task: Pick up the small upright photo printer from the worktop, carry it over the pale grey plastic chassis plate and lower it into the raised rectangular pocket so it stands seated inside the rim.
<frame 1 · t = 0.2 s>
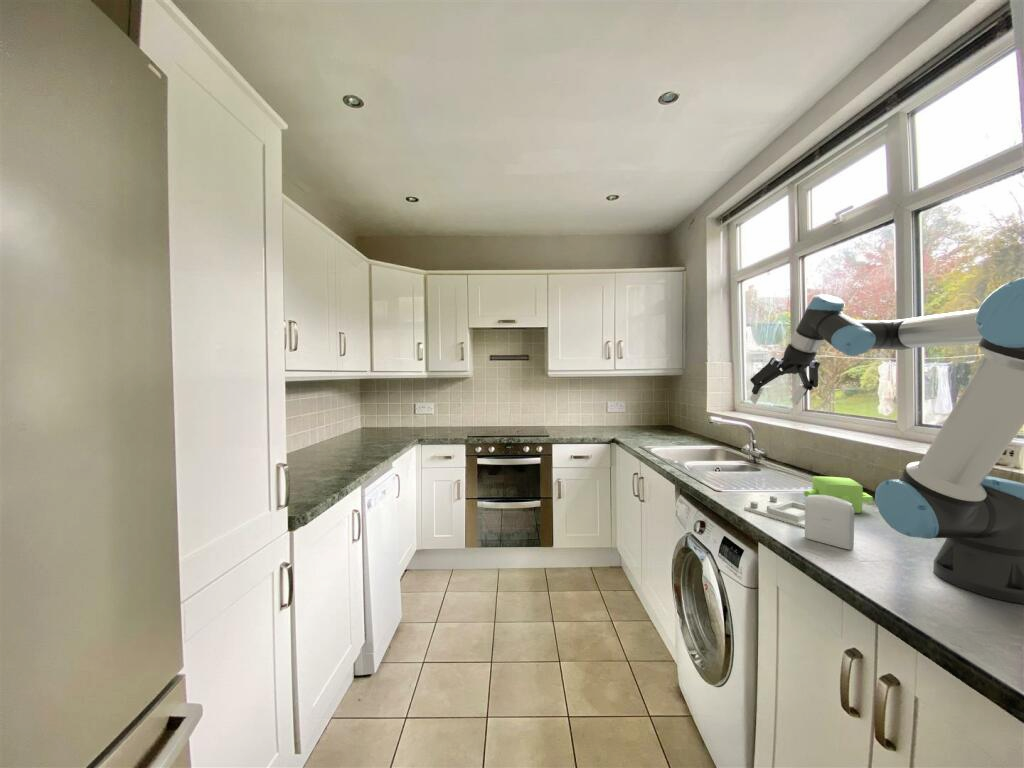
hand: (773, 401, 129), 35 cm above the worktop, tool tilted 35°, fingers open, 13 cm apart
gearbox: (834, 509, 130), on the worktop
chassis: (794, 516, 122), on the worktop
photo printer: (827, 543, 103), on the worktop
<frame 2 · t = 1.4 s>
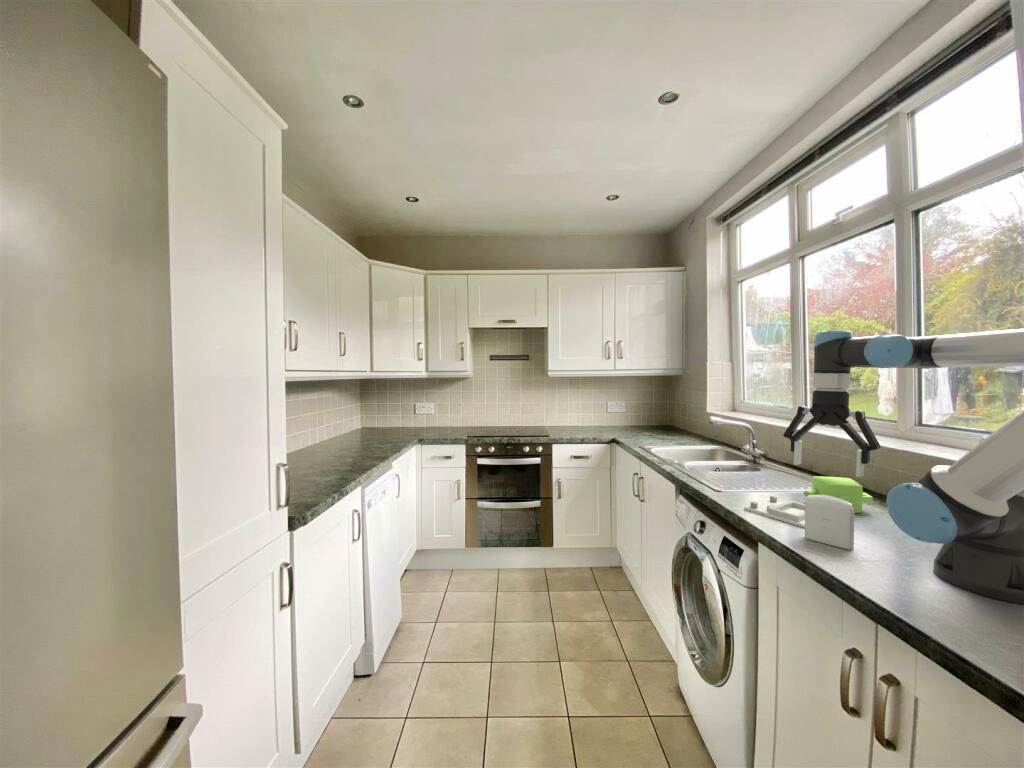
hand: (826, 469, 104), 19 cm above the worktop, tool pointing down, fingers open, 13 cm apart
nothing on the worktop moved.
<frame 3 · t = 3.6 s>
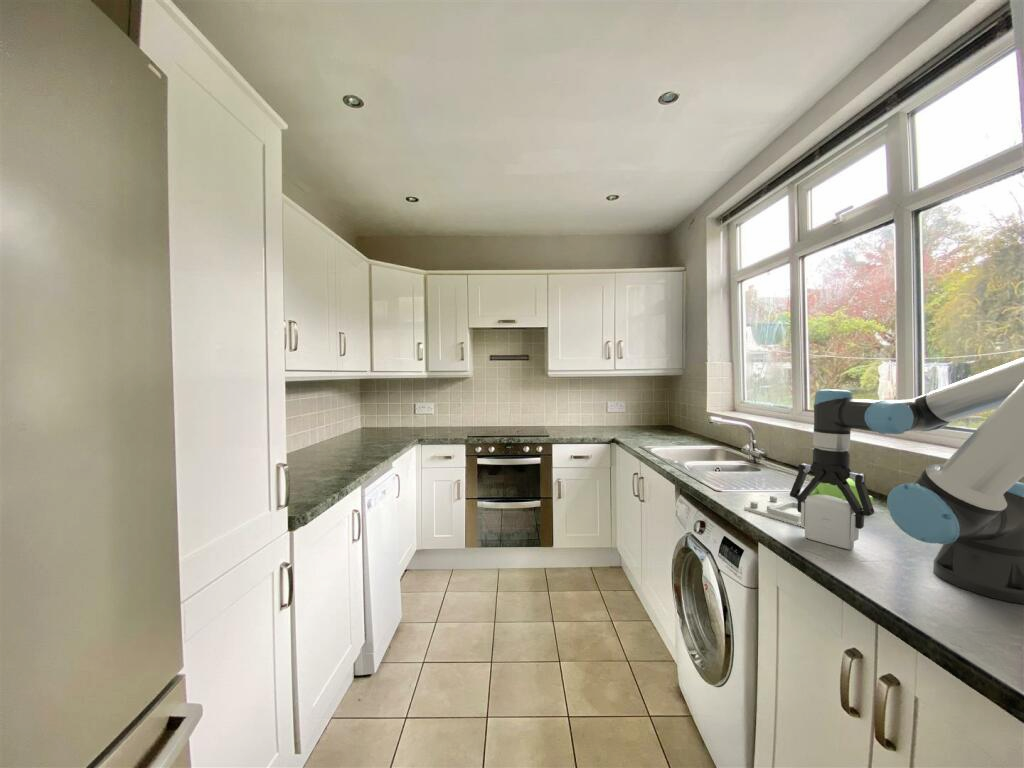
hand: (828, 532, 103), 3 cm above the worktop, tool pointing down, fingers closed on photo printer, 10 cm apart
photo printer: (827, 543, 103), on the worktop, touching gripper
everything else where it was.
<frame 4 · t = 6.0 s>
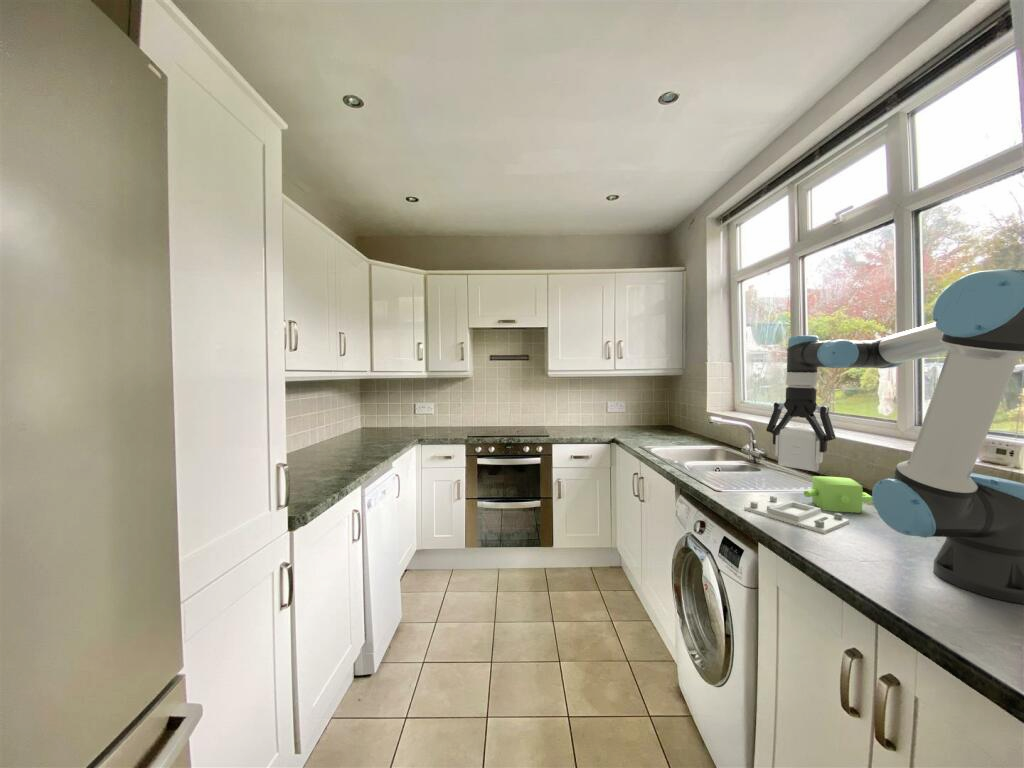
hand: (797, 458, 120), 18 cm above the worktop, tool pointing down, fingers closed on photo printer, 10 cm apart
photo printer: (797, 468, 120), point 15 cm above the worktop, touching gripper
everything else where it was.
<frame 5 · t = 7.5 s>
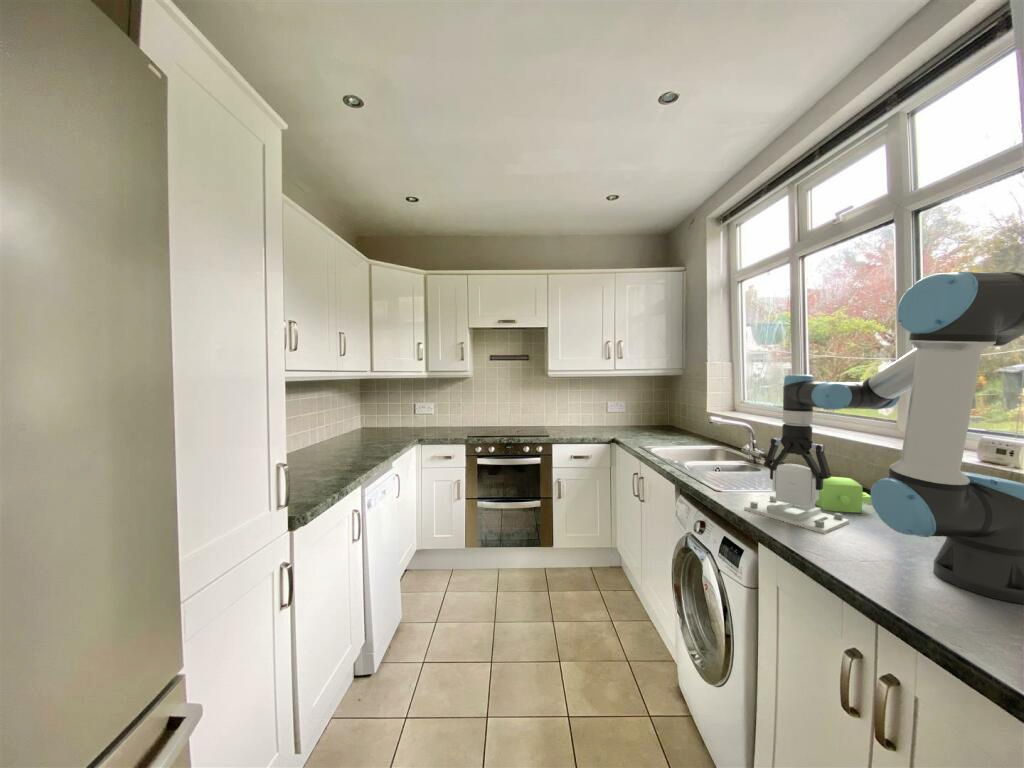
hand: (794, 494, 122), 7 cm above the worktop, tool pointing down, fingers closed on photo printer, 10 cm apart
photo printer: (794, 504, 122), point 4 cm above the worktop, touching gripper
everything else where it was.
when the fingers open (5 cm above the worktop, at t = 8.3 s): photo printer stays where it is, resting on chassis.
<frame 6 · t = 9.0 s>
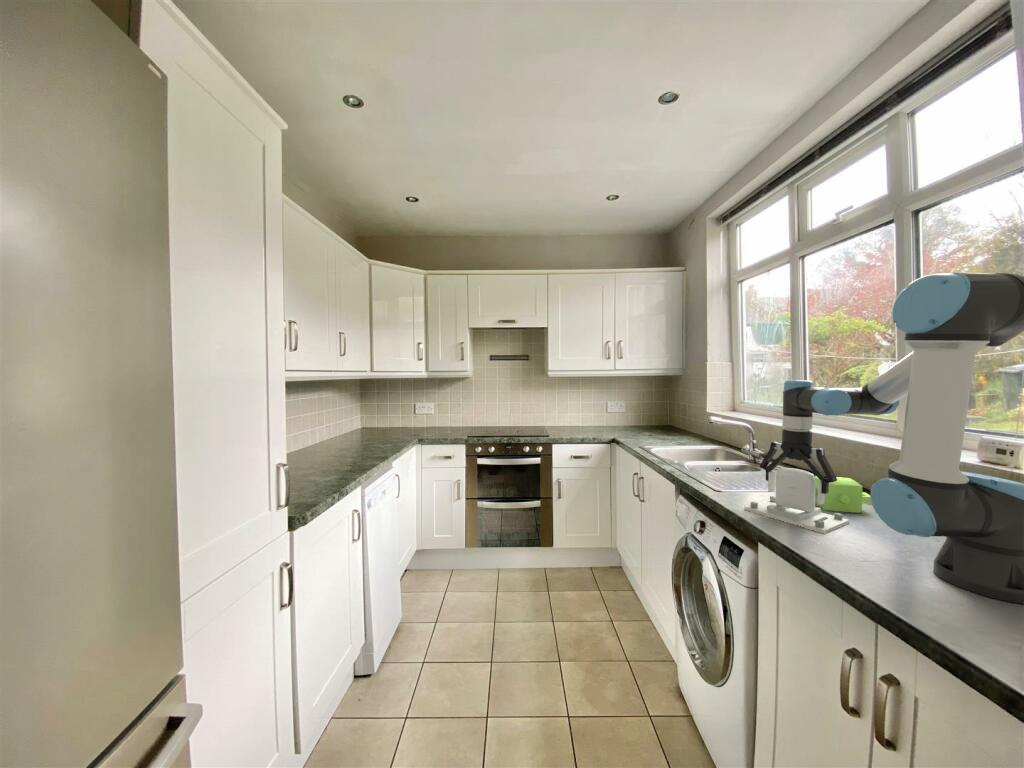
hand: (794, 497, 122), 6 cm above the worktop, tool pointing down, fingers open, 13 cm apart
photo printer: (794, 508, 122), point 2 cm above the worktop, touching chassis
everything else where it was.
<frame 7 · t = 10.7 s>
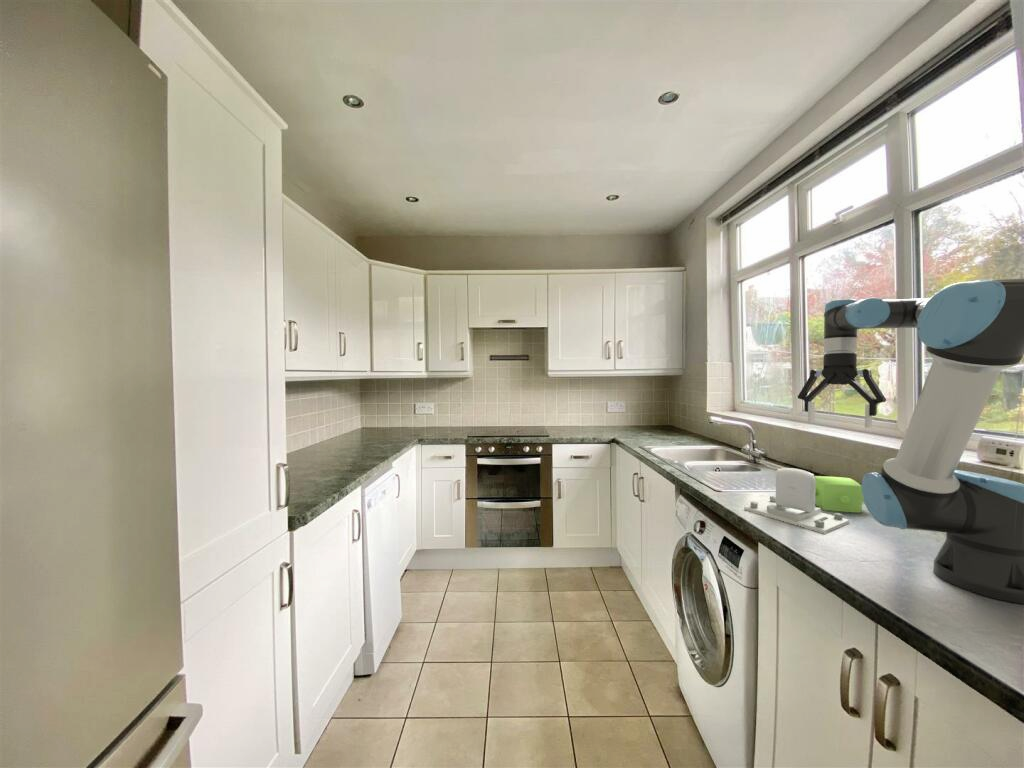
hand: (838, 425, 116), 29 cm above the worktop, tool pointing down, fingers open, 13 cm apart
nothing on the worktop moved.
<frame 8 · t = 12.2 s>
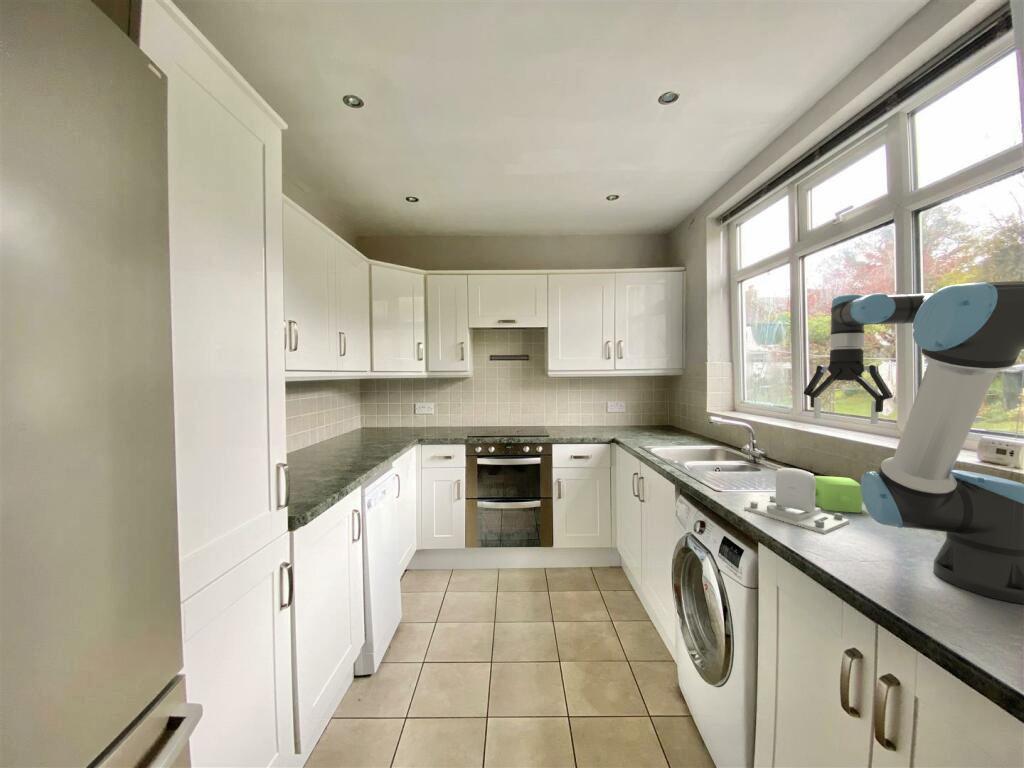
hand: (844, 421, 115), 31 cm above the worktop, tool pointing down, fingers open, 13 cm apart
nothing on the worktop moved.
at the end: photo printer 0.1 cm from the target spot, point 2.3 cm above the worktop; photo printer tilted 0°; the gripper is holding nothing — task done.
